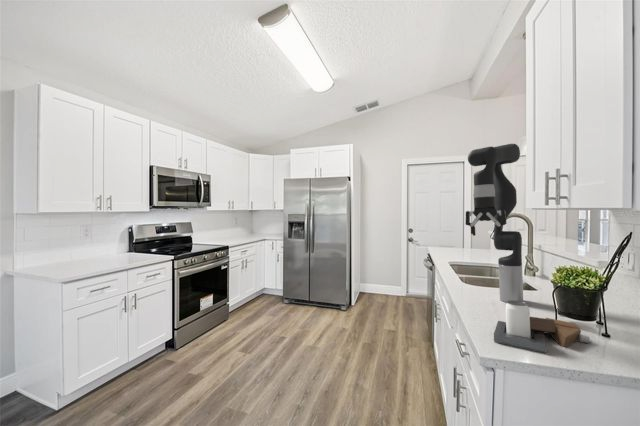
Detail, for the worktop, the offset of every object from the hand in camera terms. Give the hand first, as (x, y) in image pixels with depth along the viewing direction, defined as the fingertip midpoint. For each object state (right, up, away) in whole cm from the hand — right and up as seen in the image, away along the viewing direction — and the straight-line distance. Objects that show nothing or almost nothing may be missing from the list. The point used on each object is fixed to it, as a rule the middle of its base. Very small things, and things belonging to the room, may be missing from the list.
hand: (485, 235), depth 111 cm
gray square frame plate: (-2, -33, -21) cm, 39 cm away
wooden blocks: (+9, -33, -21) cm, 40 cm away
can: (-2, -33, -21) cm, 39 cm away
